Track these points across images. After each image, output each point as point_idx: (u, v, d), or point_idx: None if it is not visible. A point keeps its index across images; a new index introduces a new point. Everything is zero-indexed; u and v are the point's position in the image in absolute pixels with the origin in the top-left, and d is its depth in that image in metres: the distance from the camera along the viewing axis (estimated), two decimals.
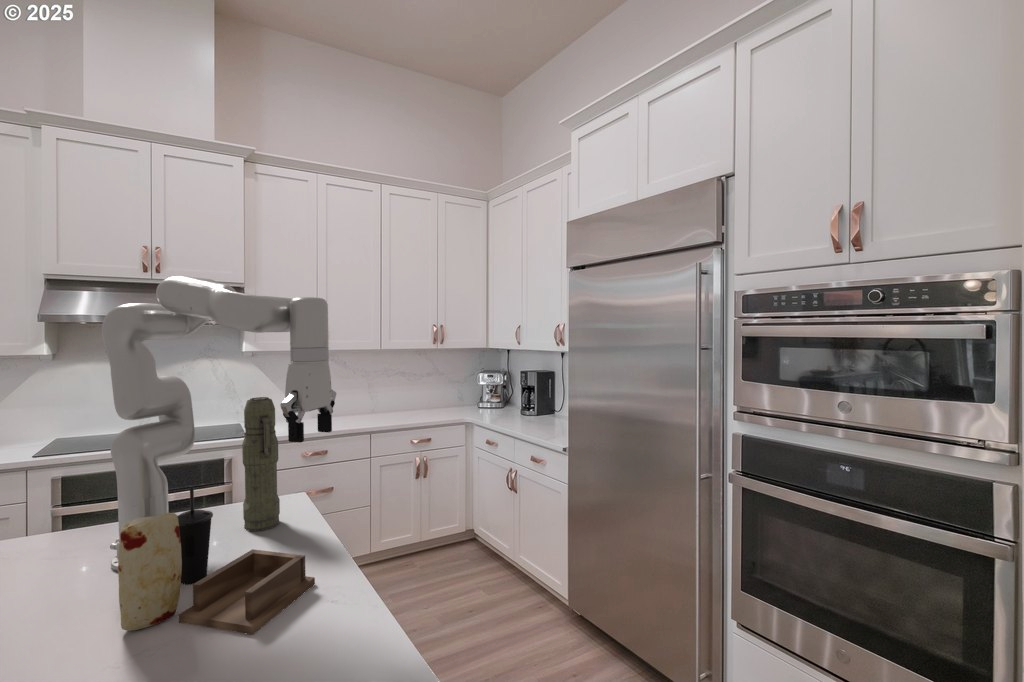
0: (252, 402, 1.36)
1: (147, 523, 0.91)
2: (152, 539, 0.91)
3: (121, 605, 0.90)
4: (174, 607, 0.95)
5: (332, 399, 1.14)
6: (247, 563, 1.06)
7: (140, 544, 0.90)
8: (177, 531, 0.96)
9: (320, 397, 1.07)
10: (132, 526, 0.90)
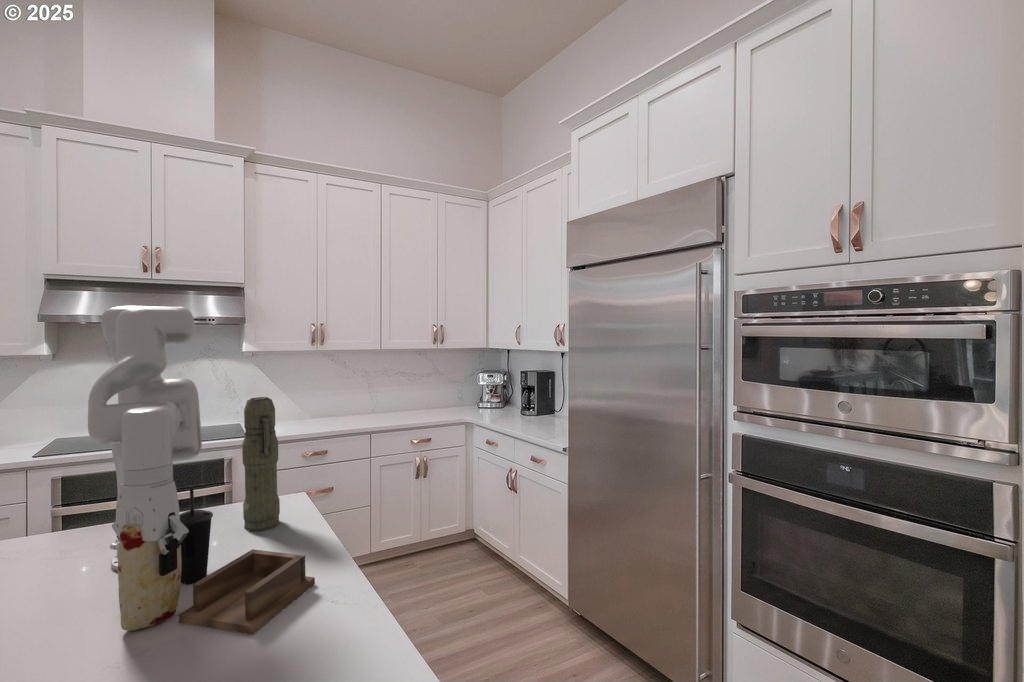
0: (252, 402, 1.36)
1: None
2: None
3: (121, 605, 0.90)
4: (174, 607, 0.95)
5: None
6: (247, 563, 1.06)
7: (139, 544, 0.90)
8: None
9: None
10: (132, 526, 0.90)
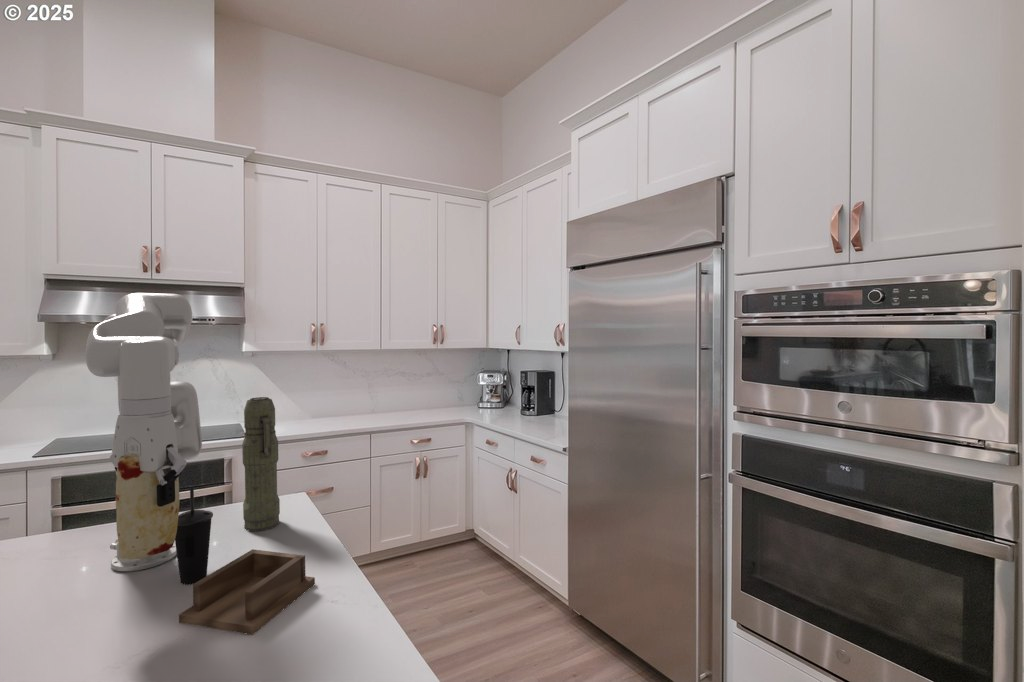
0: (252, 402, 1.36)
1: None
2: None
3: (119, 534, 0.90)
4: (172, 540, 0.96)
5: None
6: (247, 563, 1.06)
7: (137, 474, 0.90)
8: None
9: None
10: (129, 456, 0.90)
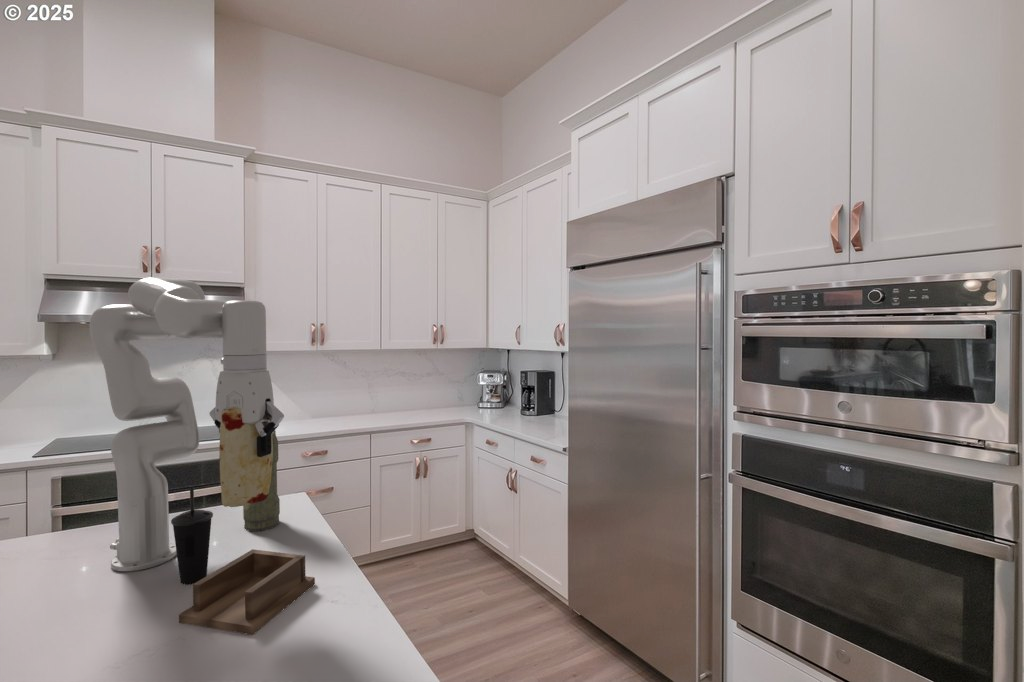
0: None
1: None
2: None
3: (222, 482, 0.96)
4: (267, 491, 1.01)
5: None
6: (247, 563, 1.06)
7: (239, 425, 0.96)
8: None
9: None
10: (232, 408, 0.96)
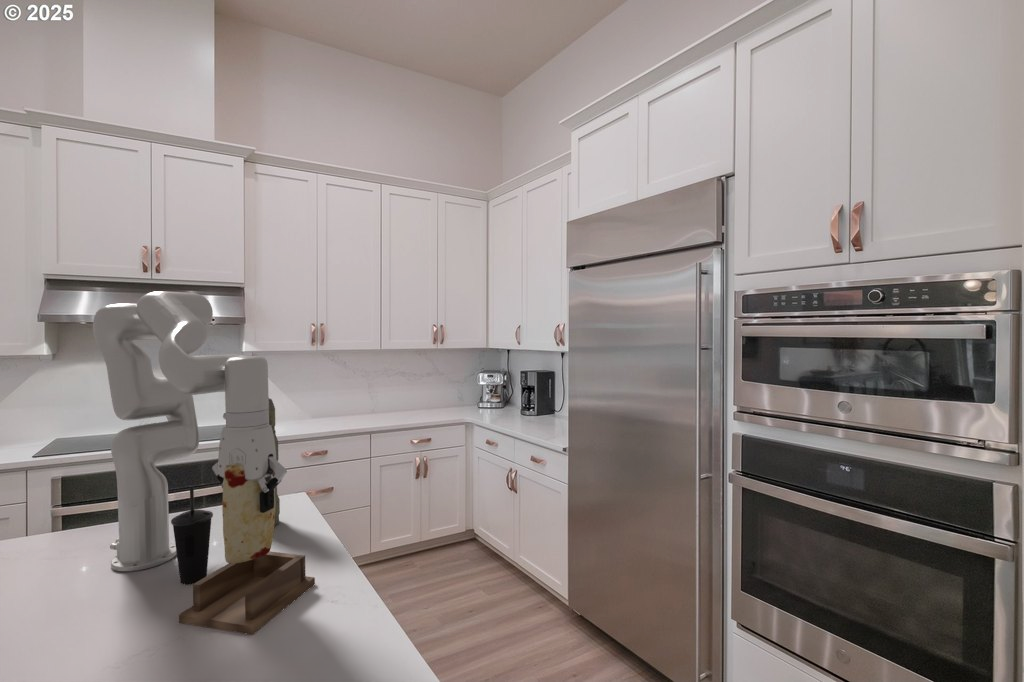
0: None
1: None
2: None
3: (226, 539, 0.96)
4: (270, 544, 1.02)
5: None
6: (247, 563, 1.06)
7: (242, 482, 0.97)
8: None
9: None
10: (235, 465, 0.96)
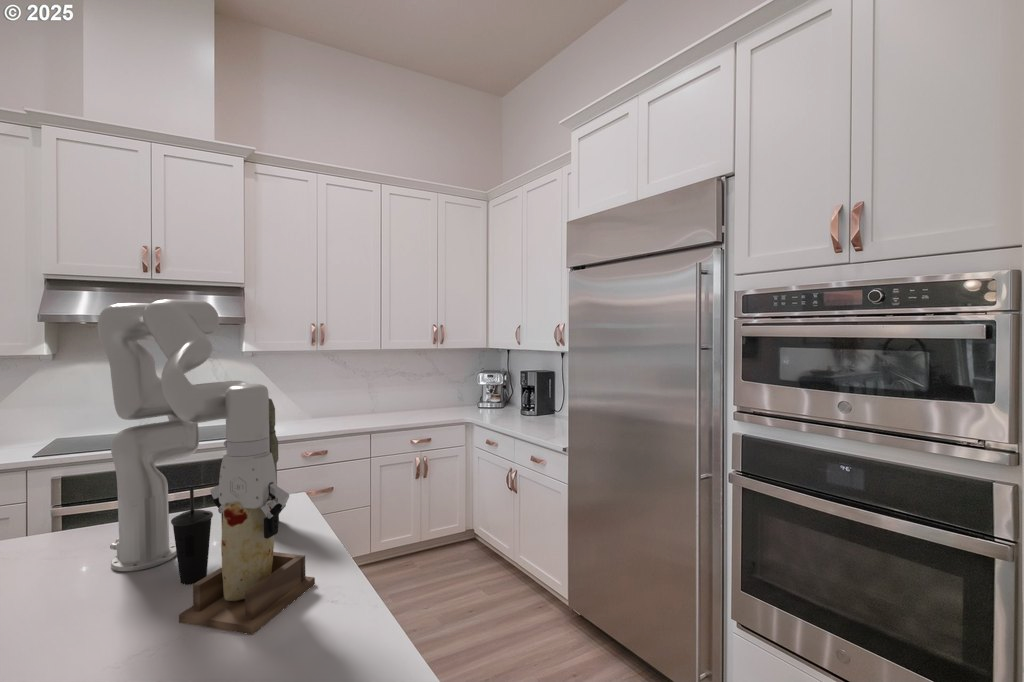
0: None
1: None
2: (252, 516, 0.98)
3: (225, 578, 0.96)
4: None
5: None
6: None
7: (241, 520, 0.97)
8: None
9: None
10: (234, 504, 0.97)
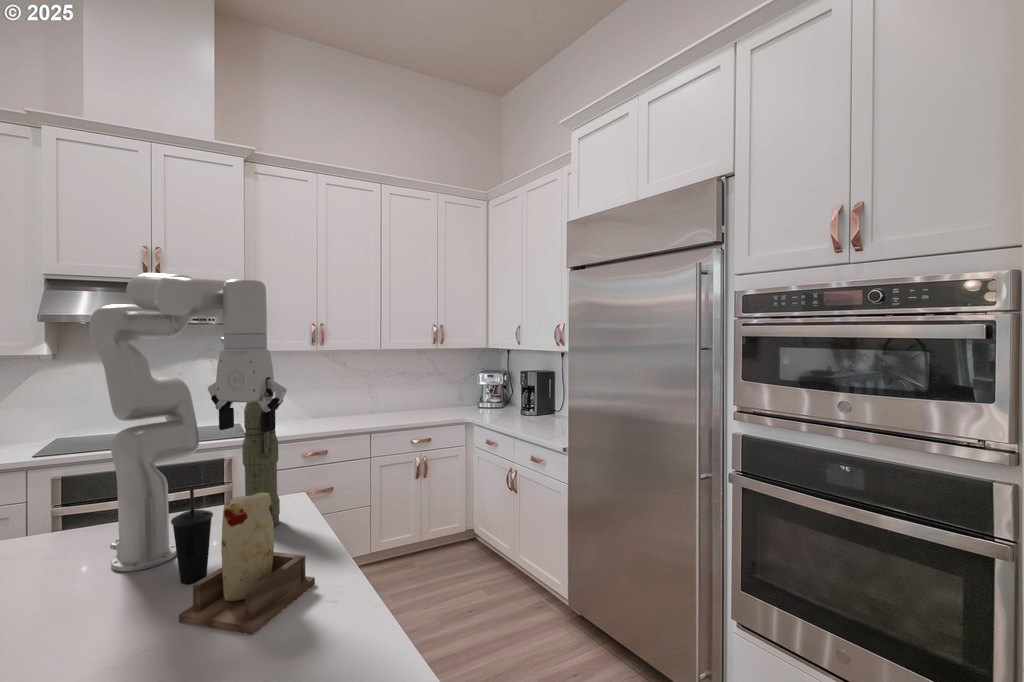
0: (252, 402, 1.36)
1: (247, 501, 0.98)
2: (252, 516, 0.98)
3: (225, 578, 0.96)
4: None
5: None
6: None
7: (242, 520, 0.97)
8: (271, 509, 1.02)
9: None
10: (234, 504, 0.97)
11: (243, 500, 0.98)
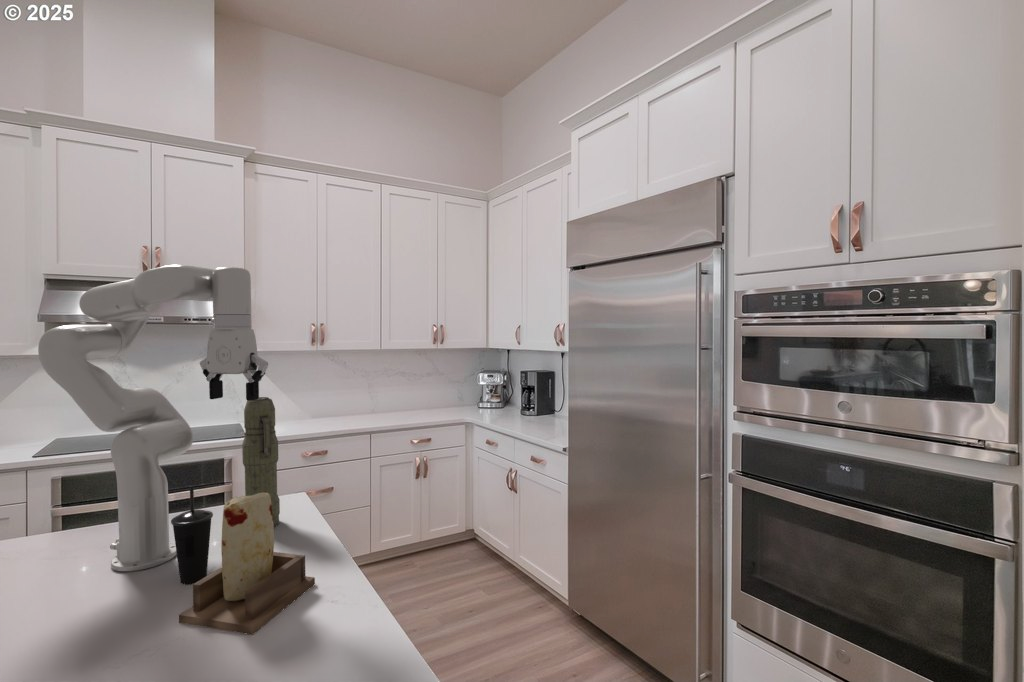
0: (252, 402, 1.36)
1: (247, 501, 0.98)
2: (252, 516, 0.98)
3: (225, 578, 0.96)
4: None
5: None
6: None
7: (242, 520, 0.97)
8: (271, 509, 1.02)
9: None
10: (234, 504, 0.97)
11: (243, 500, 0.98)
